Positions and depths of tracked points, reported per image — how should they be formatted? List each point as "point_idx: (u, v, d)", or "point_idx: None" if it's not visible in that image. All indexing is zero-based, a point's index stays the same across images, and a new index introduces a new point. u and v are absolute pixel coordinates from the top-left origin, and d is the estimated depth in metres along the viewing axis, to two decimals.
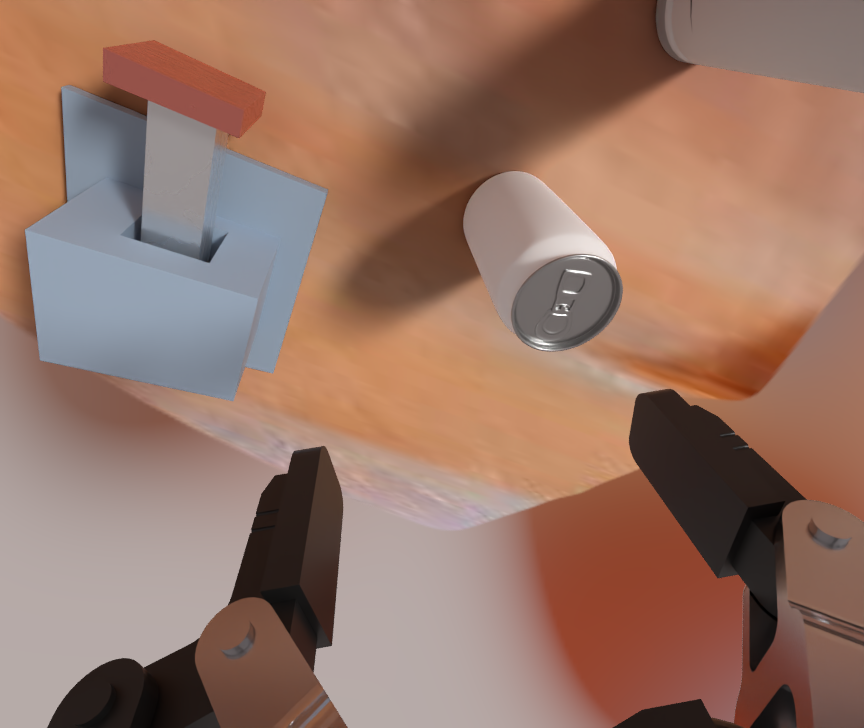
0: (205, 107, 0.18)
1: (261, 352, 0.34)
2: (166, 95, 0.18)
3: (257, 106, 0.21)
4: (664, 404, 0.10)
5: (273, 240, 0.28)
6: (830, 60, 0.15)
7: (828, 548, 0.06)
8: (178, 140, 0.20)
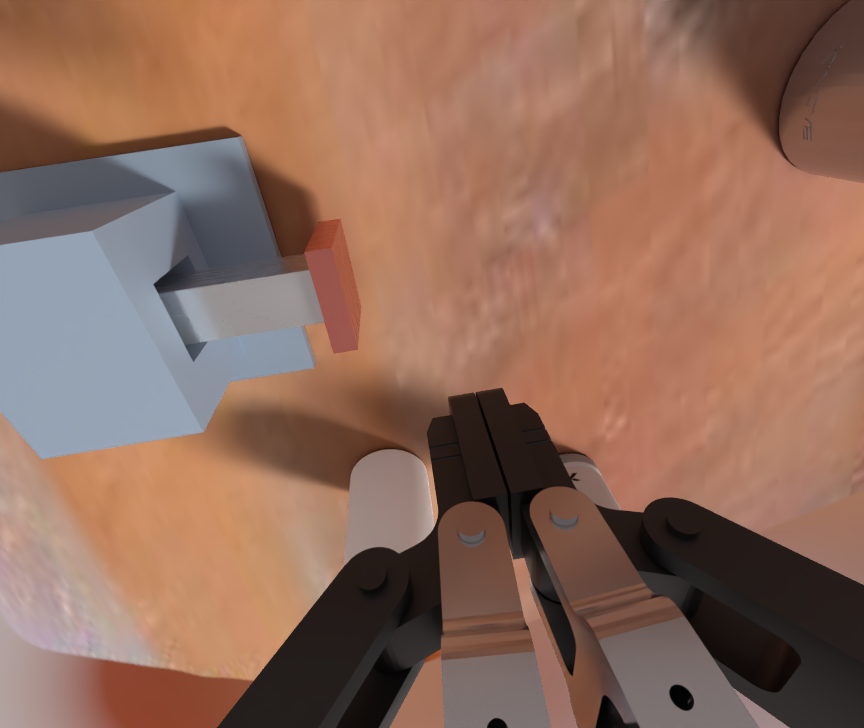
0: (339, 325, 0.20)
1: None
2: (328, 297, 0.20)
3: None
4: (488, 401, 0.11)
5: (240, 353, 0.27)
6: None
7: (553, 527, 0.07)
8: (290, 299, 0.21)
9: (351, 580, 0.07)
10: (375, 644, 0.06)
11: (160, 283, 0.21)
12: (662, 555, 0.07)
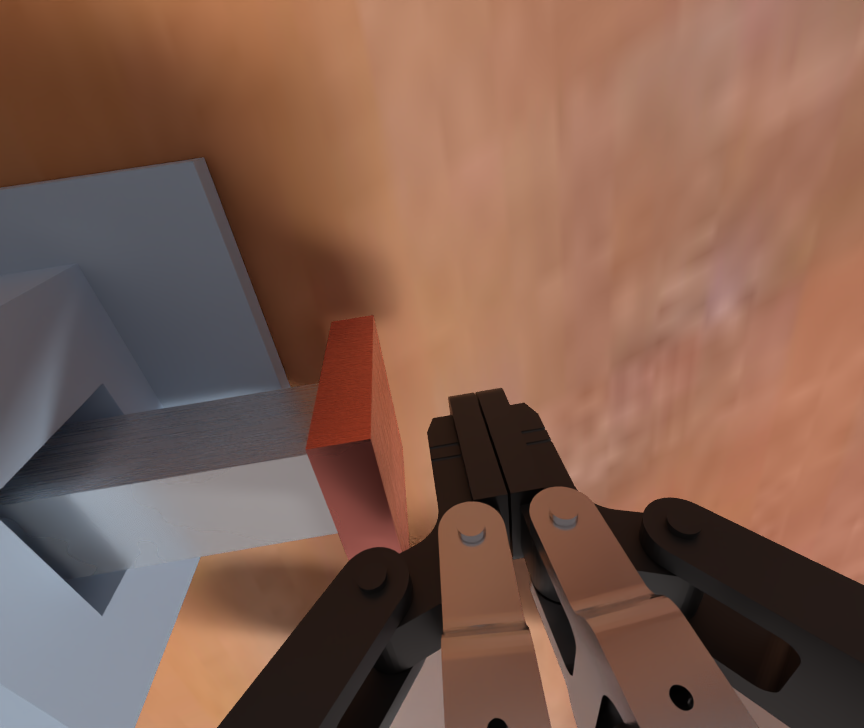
0: None
1: None
2: (359, 522, 0.09)
3: None
4: (488, 402, 0.11)
5: None
6: None
7: (553, 527, 0.07)
8: (277, 502, 0.10)
9: (351, 580, 0.07)
10: (375, 643, 0.06)
11: None
12: (662, 555, 0.07)
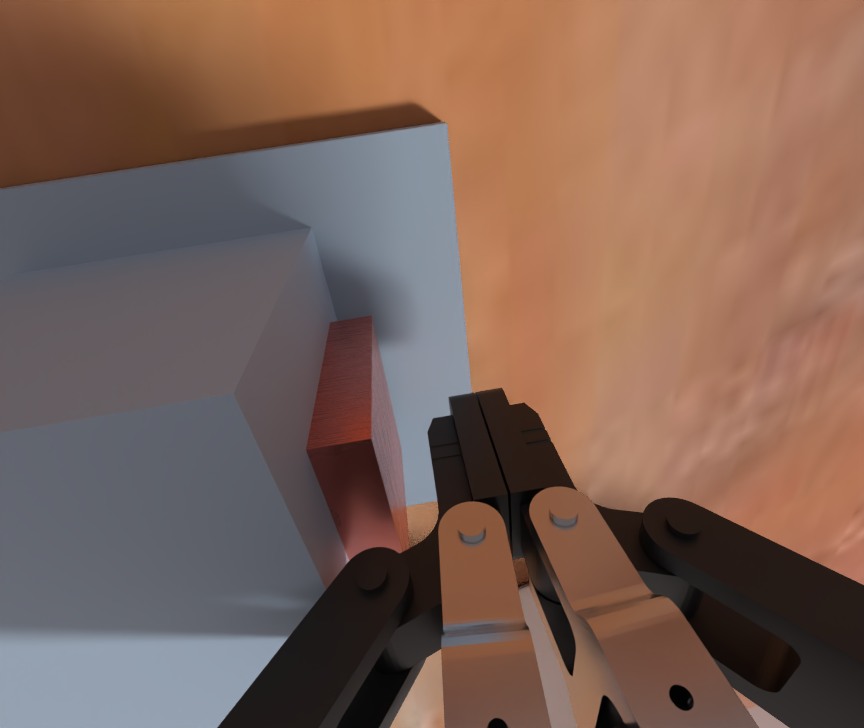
0: None
1: None
2: (359, 523, 0.09)
3: None
4: (488, 402, 0.11)
5: None
6: None
7: (553, 527, 0.07)
8: None
9: (351, 580, 0.07)
10: (375, 644, 0.06)
11: None
12: (662, 555, 0.07)
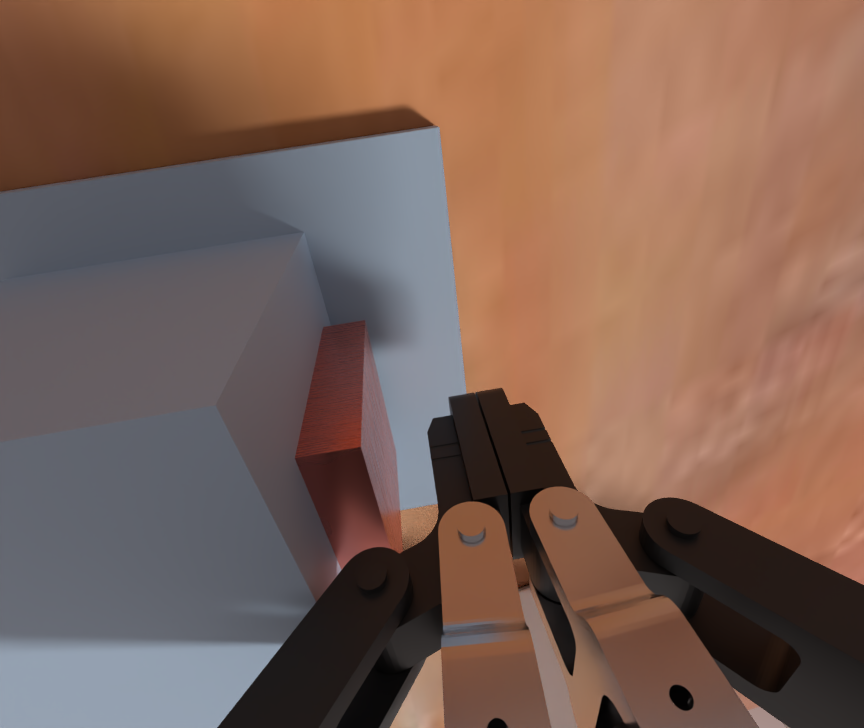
0: None
1: None
2: (350, 531, 0.09)
3: None
4: (488, 401, 0.11)
5: None
6: None
7: (553, 527, 0.07)
8: None
9: (351, 580, 0.07)
10: (375, 644, 0.06)
11: None
12: (662, 555, 0.07)
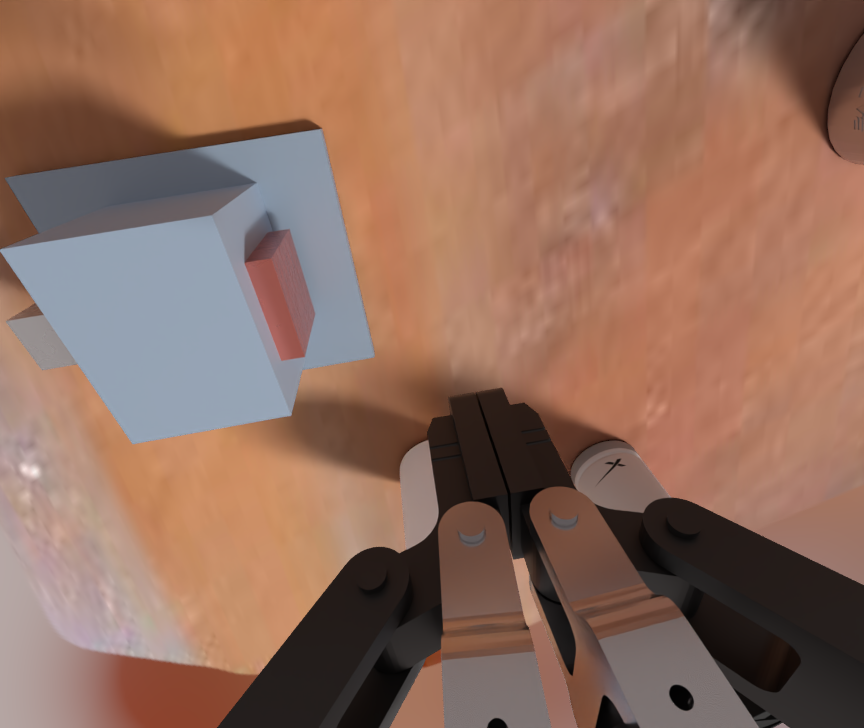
0: (285, 333, 0.21)
1: None
2: (272, 306, 0.20)
3: None
4: (488, 401, 0.11)
5: None
6: None
7: (553, 527, 0.07)
8: None
9: (351, 580, 0.07)
10: (375, 644, 0.06)
11: None
12: (662, 555, 0.07)
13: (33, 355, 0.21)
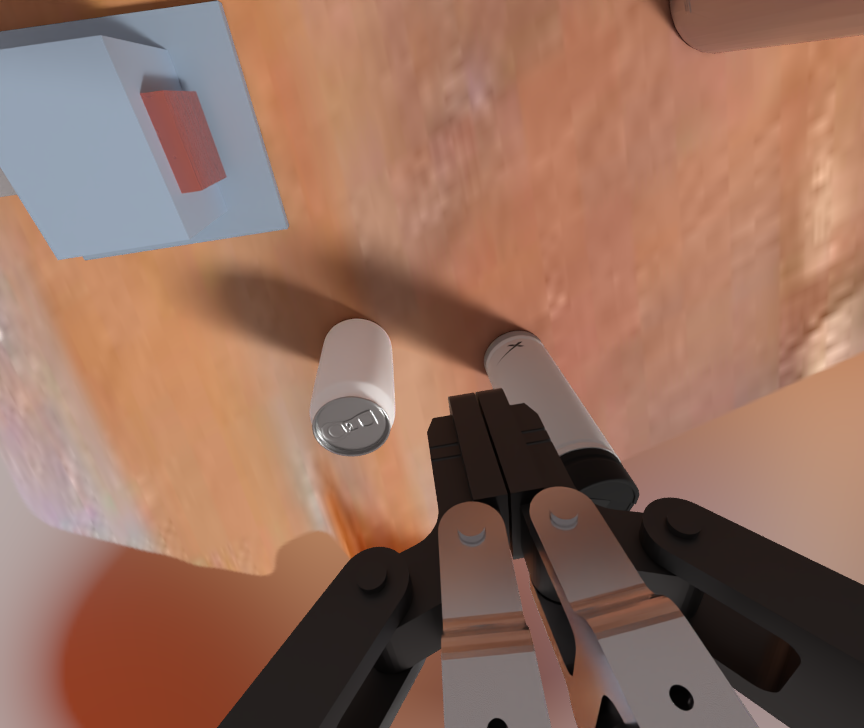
0: (182, 165, 0.25)
1: None
2: (167, 138, 0.24)
3: None
4: (488, 402, 0.11)
5: (223, 207, 0.32)
6: None
7: (553, 527, 0.07)
8: None
9: (351, 580, 0.07)
10: (375, 644, 0.06)
11: None
12: (662, 555, 0.07)
13: None
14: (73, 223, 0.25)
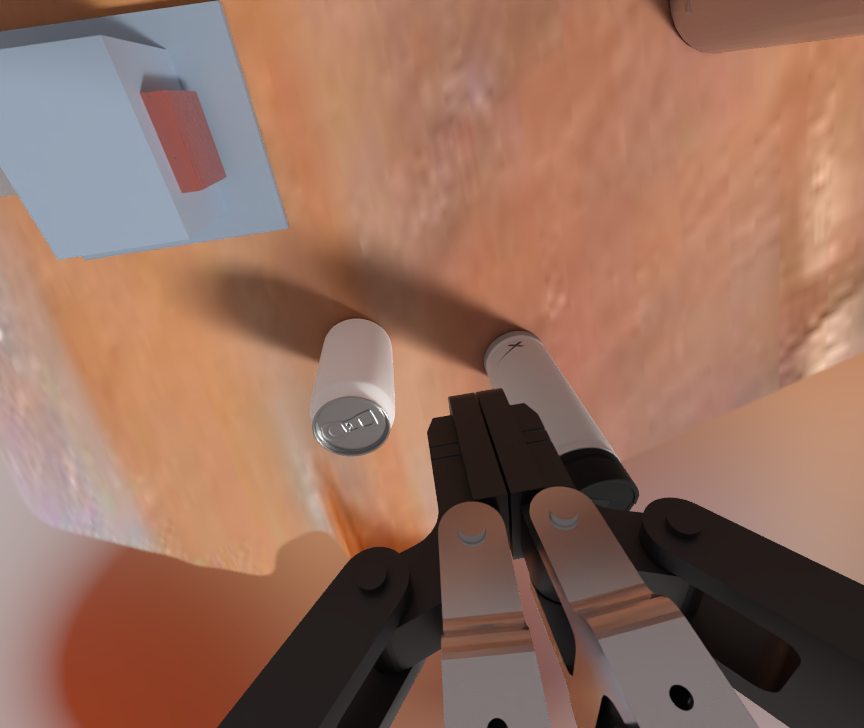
0: (182, 165, 0.25)
1: None
2: (167, 138, 0.24)
3: None
4: (488, 401, 0.11)
5: (223, 207, 0.32)
6: None
7: (553, 527, 0.07)
8: None
9: (351, 580, 0.07)
10: (375, 644, 0.06)
11: None
12: (662, 555, 0.07)
13: None
14: (73, 223, 0.25)
